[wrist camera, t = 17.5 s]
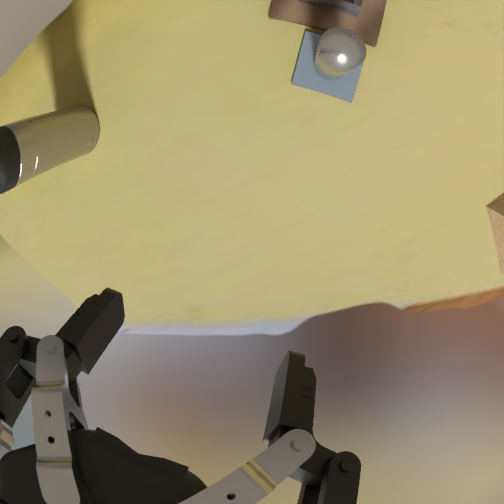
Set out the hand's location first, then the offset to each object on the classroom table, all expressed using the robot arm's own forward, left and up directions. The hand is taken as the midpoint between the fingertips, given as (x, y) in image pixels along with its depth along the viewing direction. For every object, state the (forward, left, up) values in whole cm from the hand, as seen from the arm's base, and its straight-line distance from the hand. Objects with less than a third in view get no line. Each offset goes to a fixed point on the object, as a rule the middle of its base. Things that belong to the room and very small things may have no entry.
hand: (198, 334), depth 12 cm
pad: (+3, +16, -30) cm, 34 cm away
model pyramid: (+45, +9, -31) cm, 55 cm away
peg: (+3, +16, -30) cm, 34 cm away
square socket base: (+1, +28, -30) cm, 41 cm away
